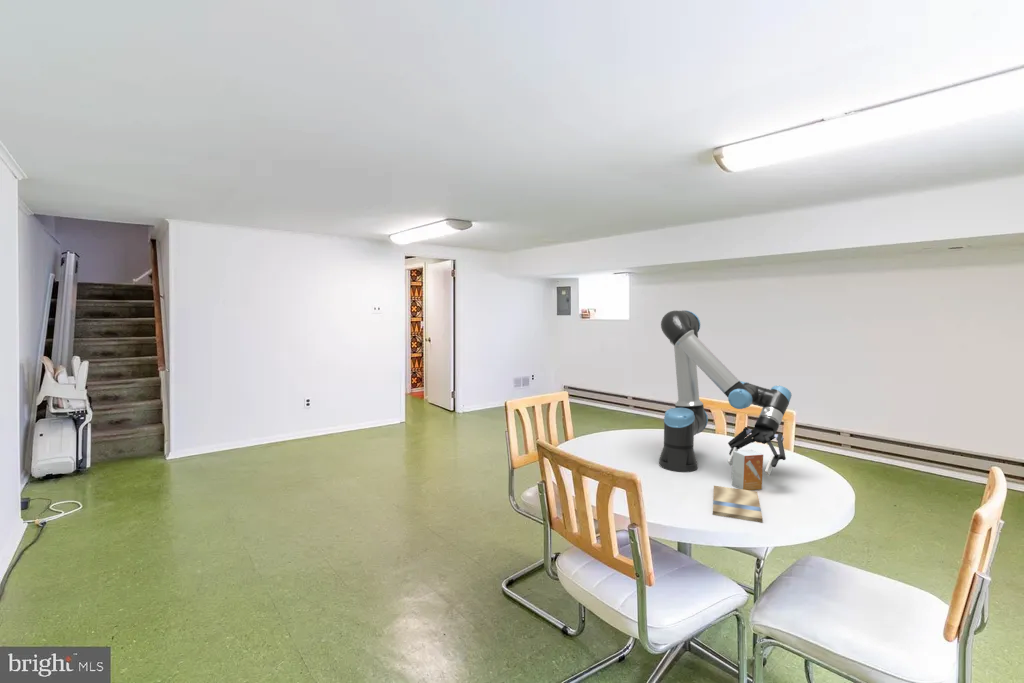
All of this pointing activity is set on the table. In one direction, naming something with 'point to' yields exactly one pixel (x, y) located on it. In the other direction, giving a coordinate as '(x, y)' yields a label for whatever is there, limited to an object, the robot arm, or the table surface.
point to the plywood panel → (736, 503)
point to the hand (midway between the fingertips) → (747, 468)
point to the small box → (747, 470)
